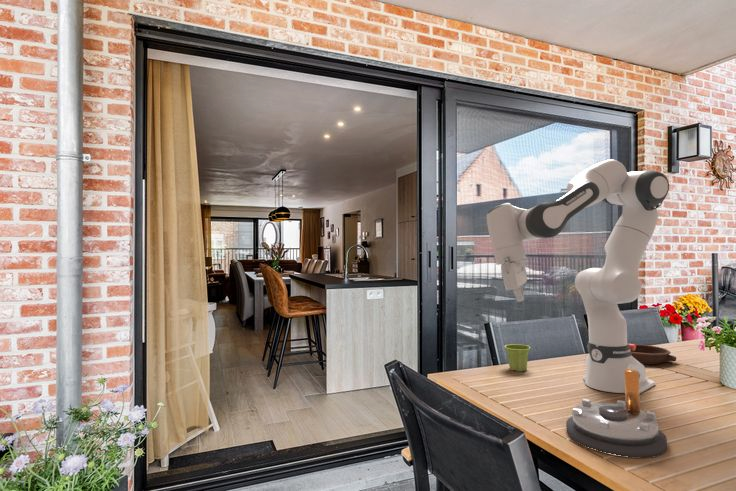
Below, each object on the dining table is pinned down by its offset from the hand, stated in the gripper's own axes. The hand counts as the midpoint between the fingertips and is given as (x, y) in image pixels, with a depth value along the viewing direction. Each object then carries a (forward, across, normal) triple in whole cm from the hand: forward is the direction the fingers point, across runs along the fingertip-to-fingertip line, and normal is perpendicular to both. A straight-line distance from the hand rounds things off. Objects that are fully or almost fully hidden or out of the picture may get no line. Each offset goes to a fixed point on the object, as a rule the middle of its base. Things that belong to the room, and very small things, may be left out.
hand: (520, 301), depth 127 cm
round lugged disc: (+32, -16, -17) cm, 39 cm away
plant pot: (+30, +35, +13) cm, 48 cm away
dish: (+38, +66, -29) cm, 82 cm away
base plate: (+34, -16, -16) cm, 41 cm away
